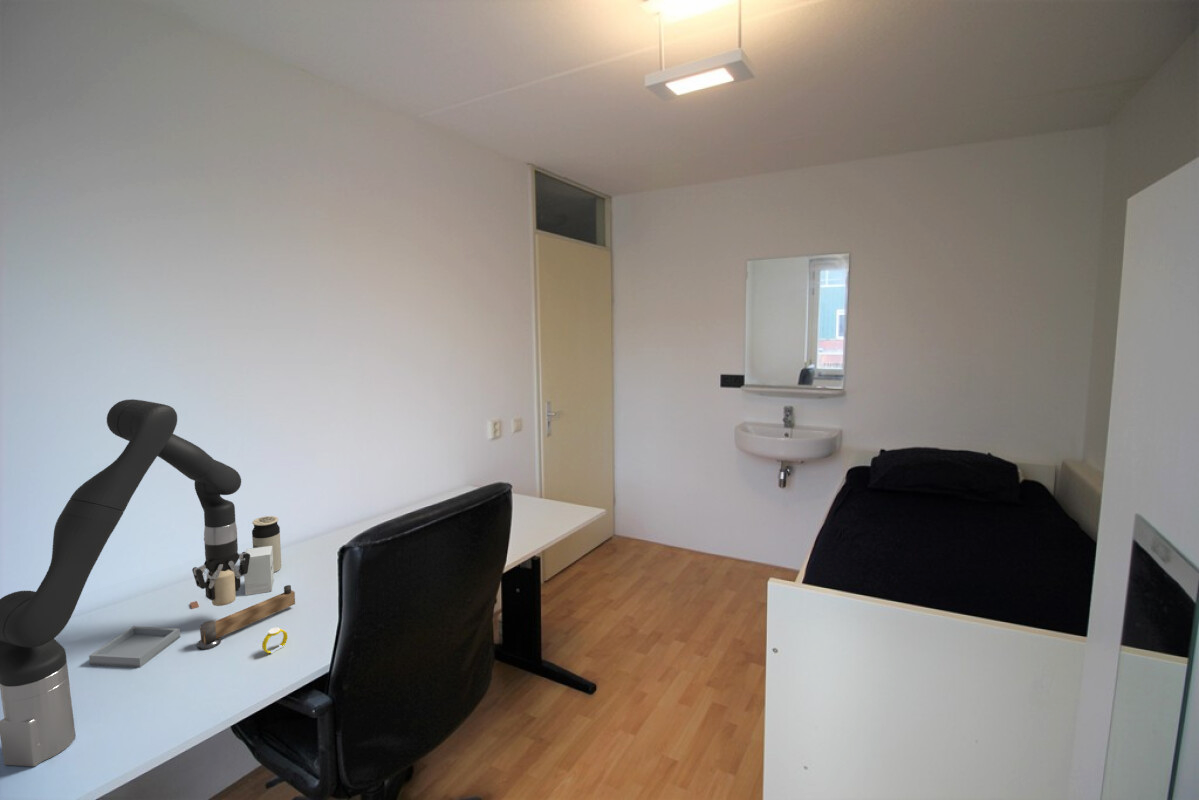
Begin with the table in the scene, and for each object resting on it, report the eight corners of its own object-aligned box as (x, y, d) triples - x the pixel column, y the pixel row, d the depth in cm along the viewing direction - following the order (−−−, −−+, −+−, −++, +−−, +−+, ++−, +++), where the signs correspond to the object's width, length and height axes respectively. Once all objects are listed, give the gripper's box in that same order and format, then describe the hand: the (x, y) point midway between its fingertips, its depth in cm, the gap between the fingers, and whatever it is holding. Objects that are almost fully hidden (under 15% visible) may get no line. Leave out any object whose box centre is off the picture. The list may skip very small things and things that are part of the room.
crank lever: (205, 644, 140) (203, 624, 139) (199, 640, 142) (197, 619, 141) (296, 604, 161) (295, 586, 160) (290, 601, 162) (289, 583, 161)
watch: (267, 658, 139) (265, 638, 137) (261, 655, 140) (258, 635, 139) (290, 645, 144) (287, 626, 142) (284, 642, 145) (281, 622, 144)
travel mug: (276, 562, 189) (273, 513, 186) (285, 569, 184) (283, 520, 181) (250, 569, 183) (247, 519, 180) (259, 577, 178) (256, 526, 175)
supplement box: (272, 591, 170) (270, 554, 168) (244, 596, 166) (242, 558, 164) (274, 580, 176) (273, 545, 174) (248, 584, 173) (246, 548, 171)
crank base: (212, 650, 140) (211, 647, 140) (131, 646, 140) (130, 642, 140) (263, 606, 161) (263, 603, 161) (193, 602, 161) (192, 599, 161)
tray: (140, 667, 132) (139, 658, 132) (90, 664, 133) (89, 655, 132) (180, 637, 145) (179, 628, 145) (134, 634, 145) (133, 626, 145)
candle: (223, 607, 149) (221, 574, 147) (207, 604, 150) (205, 571, 148) (240, 597, 154) (239, 565, 152) (224, 595, 155) (222, 562, 153)
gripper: (197, 550, 141) (201, 609, 143) (255, 533, 153) (257, 588, 156) (184, 543, 145) (188, 601, 147) (241, 527, 157) (244, 581, 159)
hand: (223, 594), depth 151 cm, fingers closed on candle, 5 cm apart
